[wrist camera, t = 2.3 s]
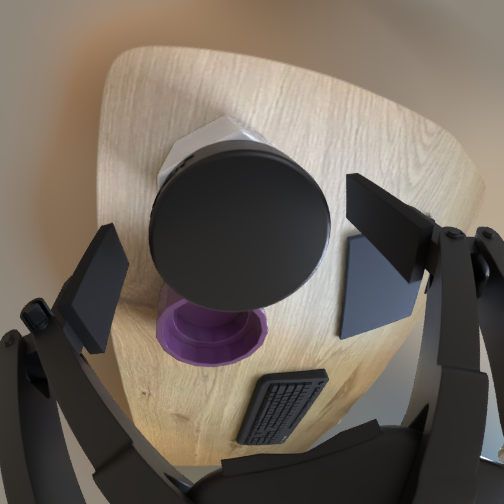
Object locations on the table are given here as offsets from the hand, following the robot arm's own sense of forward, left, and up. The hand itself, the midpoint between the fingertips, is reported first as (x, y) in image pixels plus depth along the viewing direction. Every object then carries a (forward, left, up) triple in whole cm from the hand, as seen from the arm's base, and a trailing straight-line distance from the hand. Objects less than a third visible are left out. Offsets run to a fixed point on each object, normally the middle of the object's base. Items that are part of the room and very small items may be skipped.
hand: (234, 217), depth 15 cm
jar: (0, 0, -9) cm, 9 cm away
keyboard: (+45, 0, -9) cm, 46 cm away
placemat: (+17, +17, -9) cm, 26 cm away
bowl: (+13, -4, -9) cm, 16 cm away
